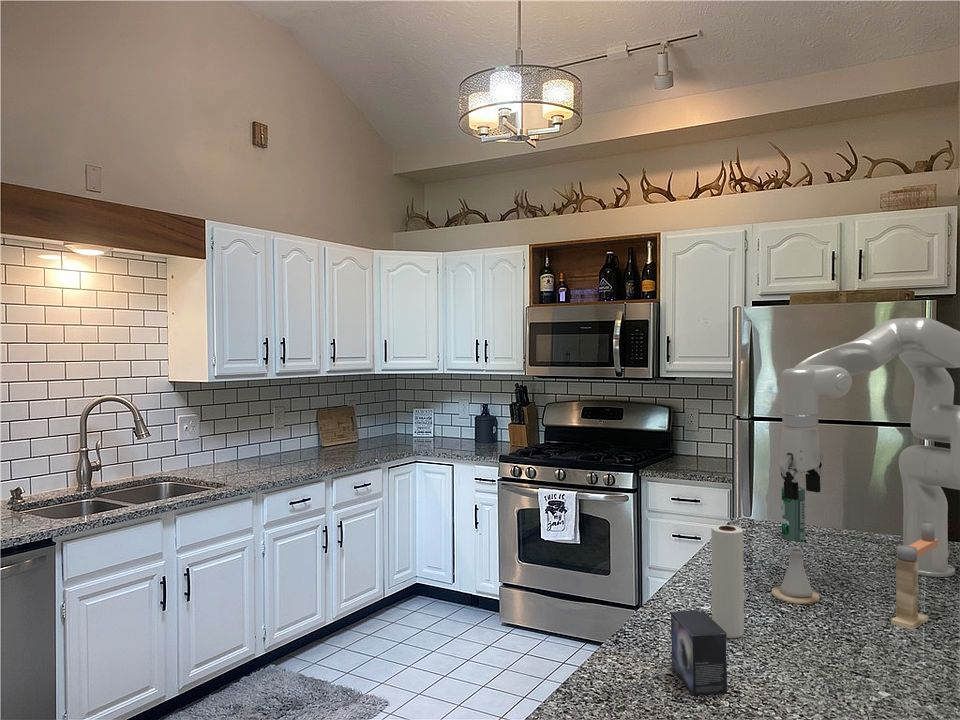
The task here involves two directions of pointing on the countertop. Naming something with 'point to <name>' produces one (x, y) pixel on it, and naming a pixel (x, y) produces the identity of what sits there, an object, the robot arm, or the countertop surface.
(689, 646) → the small box
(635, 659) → the countertop surface
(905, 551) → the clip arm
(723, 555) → the paper towel roll
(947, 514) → the robot arm
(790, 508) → the can
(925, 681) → the countertop surface
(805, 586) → the flask
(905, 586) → the post
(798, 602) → the coaster
